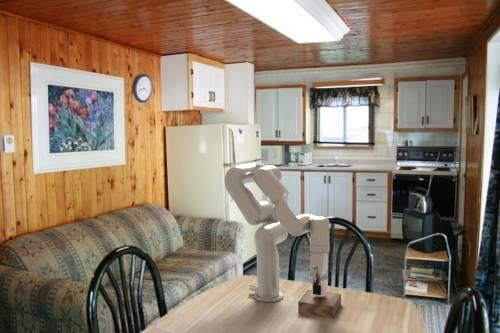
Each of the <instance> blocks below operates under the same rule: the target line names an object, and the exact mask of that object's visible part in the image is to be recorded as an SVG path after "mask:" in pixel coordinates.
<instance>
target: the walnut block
mask: <svg viewBox="0 0 500 333" xmlns="http://www.w3.org/2000/svg"><path fill="white" fill-rule="evenodd" d="M297 305H298V306H297V312H298V313H297V314H303V315H309V316H316V317H323V318H329V319H335V316H336V315H337V312H338V311H339V309H340V307H341V305H342V293H338V292H330V291H327V295H326V296H323V297H318V296H314V295H313V292H312V289H309V288H308V289H307V290H306V291H305V293H304V294H303V295H302V296H301V297H300V299H299V300H298V302H297Z"/></svg>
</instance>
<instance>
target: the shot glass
mask: <svg viewBox="0 0 500 333" xmlns="http://www.w3.org/2000/svg"><path fill="white" fill-rule="evenodd" d="M312 277H313V276H312ZM312 277H310V278H311V290H312V292H313V280H312ZM317 277H319V276H317ZM316 279H317V278H316ZM317 280H318V281H319V279H317ZM328 283H329V277H328V276H327V275H326V276H325V275H324V276H323V277H322V278H321V282H320V285H321V295H316V294H313V295H314V296H318V297H323V296H326V295H327V292H328Z"/></svg>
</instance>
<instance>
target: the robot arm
mask: <svg viewBox="0 0 500 333" xmlns="http://www.w3.org/2000/svg"><path fill="white" fill-rule="evenodd" d="M281 180H282V172H281V170H280V169H279V168H278V167H277V166H275V165H272V164H262V163H251V162H250V163H243V164H237V165H234V166H232V167H230V168H228V170H227V171H226V173H225V176H224V186H225V190H226V191H227V193H228V195H229V196H230V197H231V199H232V200H233V201H234V203H235V204H236V207H237V208H238V210H239V211H240V212H241V214H242V216H243V217H244V220H245V221H246V222H247V224H249V225H250V226H252V227H253V226H254V227H255V226H258V225H261V224H262V225H261V226H259V227H258V228H257V229H256V230H255V233H254V235H253V236H254V243H255V244H254V245H255V250H256V276H257V277H256V282H257V284H252V283H251V284H249V291H253V292H254V293H253V298H254V299H255V300H256V301H259V302H261V303H262V302H263V303H273V302H279V301H280V300H283V298H284V293H283V291H281V290H280V255H279V250H278V248H277V245H278V244H281V243H282V242H284V241H285V240H286V239H287V238H288V235H289V234H290V236H293V237H299V236H300V237H301V236H302V235H304V234H306V233H309V238H310V239H309V248H310V249H309V252H310V261H309V277H310V278H311V277H312V276H313V277H312V280H313V294H316V295H321V285H320V282H321V278H322V277H323V276H324V275H325V276H327V273H328V270H329V268H328V267H329V259H328V258H329V256H328V254H329V252H330V219H329V217H326V216H321V215H318V216H316V215H313V214H309V213H301V214H299V215H296V214H295V213H293V211H292V210H291V208H290V207H289V206H290V205H288V196H289V194H290V193H289V192H290V191H289V190H288V189H287V188H286V186H284V184H283V183H282V182H281ZM250 183H254V184H256V185H257V187H258V188H259V190H261V192H262V193H263V194H264V195H265V197H266V198H267V199H268V200H269V201H270V202H269V201H267V200H261V201H258V200H257V198H256V197H255V196H254V194H253V192H252V191H251V190H250V189H249V188H248V187H246V186H245V184H250ZM317 276H319V277H317ZM316 278H317V279H319V281H318V280H317V279H316Z"/></svg>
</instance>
